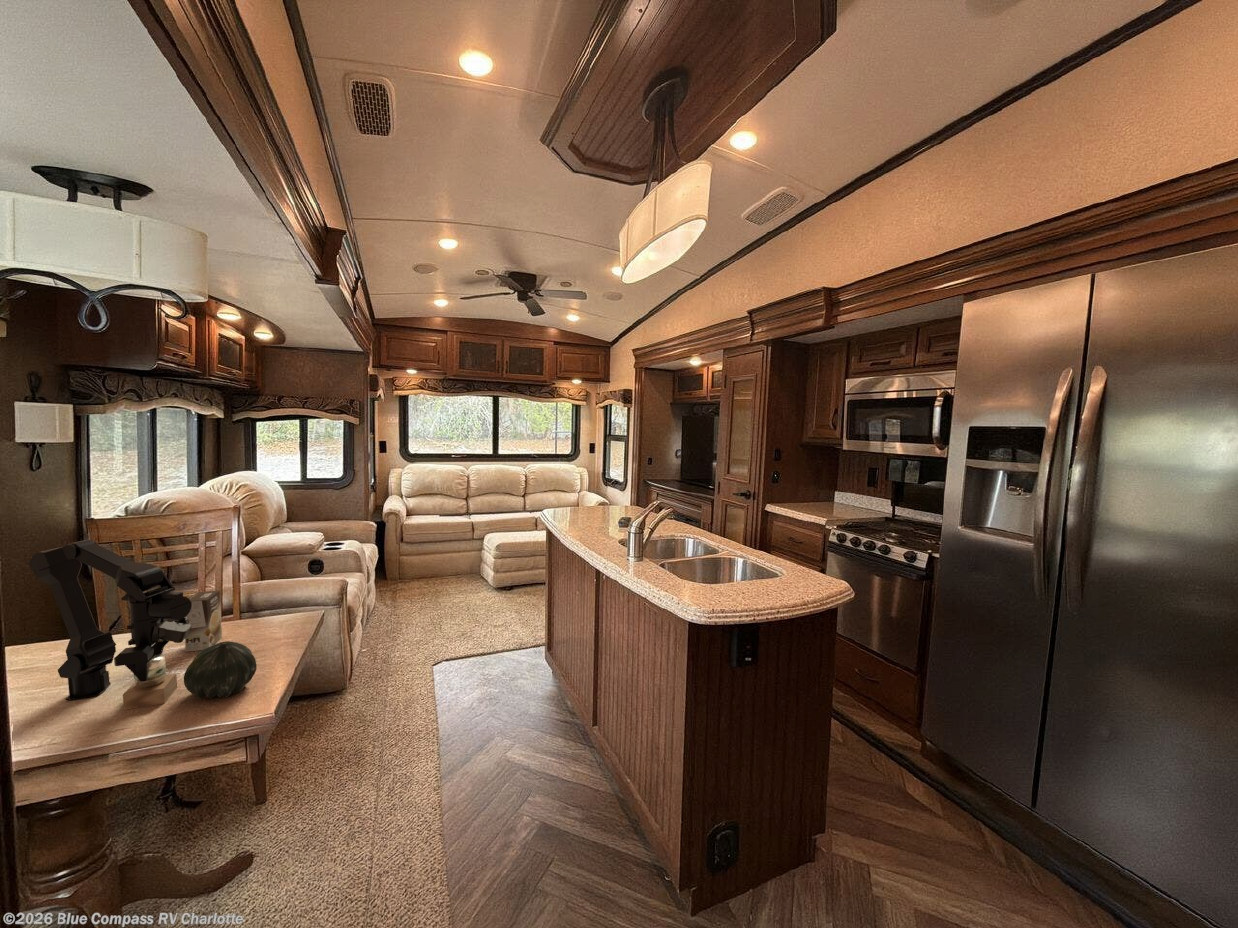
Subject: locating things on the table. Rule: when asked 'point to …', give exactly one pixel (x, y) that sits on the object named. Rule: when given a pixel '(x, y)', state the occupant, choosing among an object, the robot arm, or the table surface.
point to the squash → (220, 670)
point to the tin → (154, 672)
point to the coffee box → (204, 621)
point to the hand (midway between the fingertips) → (149, 674)
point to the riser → (150, 693)
